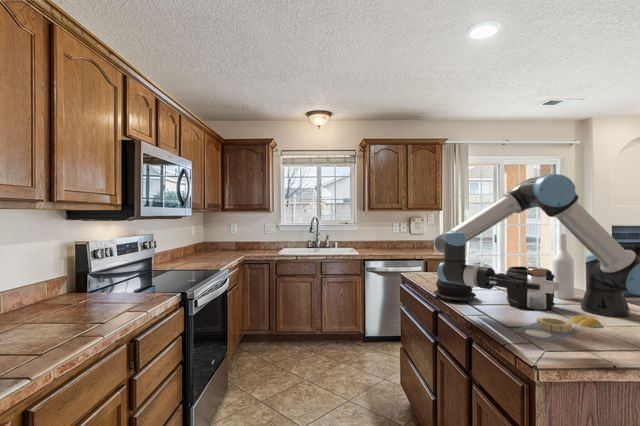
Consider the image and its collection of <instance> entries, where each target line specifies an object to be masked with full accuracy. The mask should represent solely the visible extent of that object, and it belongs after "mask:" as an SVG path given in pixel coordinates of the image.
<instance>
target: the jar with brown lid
mask: <svg viewBox="0 0 640 426" xmlns="http://www.w3.org/2000/svg"><path fill="white" fill-rule="evenodd" d="M526 268H527V282H528V281H532V282H539V283H546V269H547V268H544V269H541V268H542V267H537V268H528V267H526ZM527 307H529V308H532V309H540V310H543V309H546V293H544V292H537V291H531V290H528V292H527Z"/></svg>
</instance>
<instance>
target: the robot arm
mask: <svg viewBox="0 0 640 426" xmlns="http://www.w3.org/2000/svg"><path fill="white" fill-rule="evenodd" d="M579 199H580V198H579V195H578V194H577V193H576V185H575V183H574V181H572V179H570V178H569V177H568V176H566V175H563V174H559V173H550V174H549V173H548V174H543V175H541V176H535V177H531V178H528V179H526V180H523V181H522V182H521V183H519V184H518V185H516V186H514V187H513V188H512V189H510V190H509V191H507V192H505V193H504V194H503V197H502V198H500V199H499V200H497V201H495V202H494V203H492V204H490V205H489V206H488V207H486V208H484V209H483V210H481V211H479V212H477V213H476V214H475V215H472V216H471V217H470V218H468V219H466V220H464V221H463V222H461V223H459V224H458V225H456V226H455V227H453V228H451V229H450V230H448V231H445V233H441V234H439V235H437V236H436V237H435V238H434V239H433V246H434V247H433V248H435V249H436V250H437V251H438V252H439V253H441V254H443V255H444V256H443V257H444V258H443V259H444V260H443V261H442V262H440V263H439V264H438V267H437V269H436V275H437V279H440V280H441V281H444V282H448V283H453V284H460V285H466V286H471V288H472V289H474V288H479V289H484V290H493V288H494V287H496V288H497V287H498V288H504V289H507V288H510V289H516V290H524V292H528V290H531V291H537V292H544V293H550V294H553V290H554V291H560V282H555V281H547V280H546V283H539V282H532V281H528V282H527V277H523V276H515V275H509V274H507V273H496V270H495V269H494V268H493V267H488V266H480V265H473V264H466V261H467V260H466V255H467V254H466V253H467V252H466V249H467V248H466V246H467V245H466V244H467V243H468V242H469V241H472V240H473V239H475V238H476V237H477V236H480V235H481V234H483V233H484V232H486V231H488V230H489V229H491V228H492V227H494V226H496V225H497V224H499V223H500V222H503V221H504V220H506V219H507V218H509V217H512V216H513V215H515V214H521V213H522V212H524V211H527V210H529V209H533V208H540V210H542V212H544V214H545V215H546V216H548V217H550V218H556V220H558V221H559V222H560V223H561V224H562V226H563V227H565V228H566V229H567V230H568V231H569V233H570V234H571V235H573V237H574V238H576V239H577V241H578V242H579V243H580V244H581V245H582V246H583V247H584V248H585V249H586V250H587V251H588V252H589V253H590V254H589V253H588V254H587V255H586V257H585V264H584V265H585V291H584V295H583V297H582V300H581V302H580V310H582V311H584V312H588V313H592V314H595V315H600V316H606V317H608V316H609V317H620V318H621V317H629V316H630V315H631V314H630V313H631V310H630V307H629V304H628V301H627V299H626V297H625V294H624V292H627V293H630V294H631V295H632V294H633V295H638V296H640V256H639V255H638V254H637V253H635V251H633V250H631V249H625V248H624V247H623V246H622V245H621V244H620V243H618V241H617V240H616V239H615V238H614V237H613V236H612V235H611V234H610V233H609V232H608V231H607V230H606V229H605V228H604V227H603V226H602V225H601V224H600V223H599V222H598V221H597V220H596V219H595V218H594V217H593V216H592V215H591V214H590V213H589V212H588V210H586V209H585V208H584V207H583V206H582V205H581V204H580V203H579Z"/></svg>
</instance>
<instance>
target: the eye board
mask: <svg viewBox="0 0 640 426" xmlns="http://www.w3.org/2000/svg"><path fill="white" fill-rule="evenodd" d="M581 330H582V329H580V328H577V327H573V323H571V322H570V320H569V321H568V320H566V319H563V318H557V317H550V316H548V317H547V316H540V317H537V318H536V321H535V322H533V323H529V324H527V325H525V326H522V327H519V328H516V329H513V330H512V332H514V333H518V334H521V335H525V336H528V337H529V336H530V337H532V338H536V339H540V340H544V341H547V342H551V343H555V342H557V341H560V340H561V339H565V338H566V337H568V336H570V335H573V334H575V333H577V332H580V331H581Z"/></svg>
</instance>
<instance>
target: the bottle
mask: <svg viewBox="0 0 640 426" xmlns="http://www.w3.org/2000/svg"><path fill="white" fill-rule="evenodd" d="M558 235H559V240H558V241H559V243H558V244H559V249H558V251H557V253H556V254H555V255H554V256H553V259H552V274H553V275H554V277H555V278H553V281H555V282H560V291H554V299H555V298H557V299H560V300H574V299H575V285H574V284H575V276H574V275H575V272H574V271H575V269H574V268H575V263H574V259H573V258H572V255H571V254H570V253H569V252H568V250H567V233H565V232H564V233H561V232H560V233H559V234H558Z"/></svg>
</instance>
